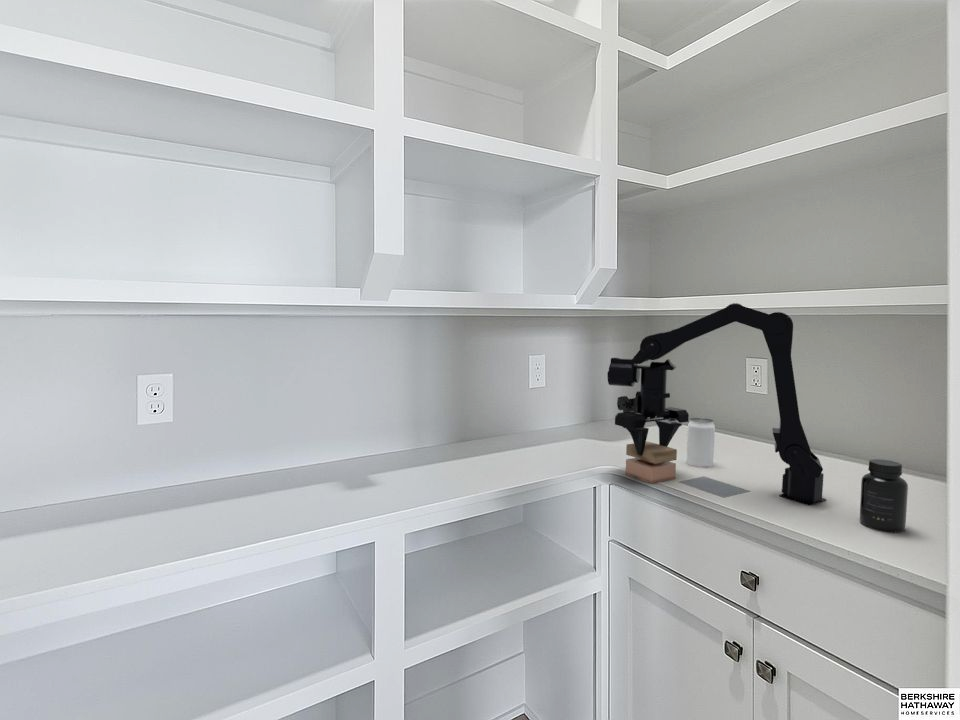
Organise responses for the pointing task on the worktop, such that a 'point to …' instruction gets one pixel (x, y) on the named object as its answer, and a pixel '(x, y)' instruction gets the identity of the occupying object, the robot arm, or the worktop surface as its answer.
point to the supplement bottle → (884, 496)
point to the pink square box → (650, 470)
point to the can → (700, 442)
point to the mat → (714, 486)
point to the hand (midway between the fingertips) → (651, 453)
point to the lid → (653, 453)
